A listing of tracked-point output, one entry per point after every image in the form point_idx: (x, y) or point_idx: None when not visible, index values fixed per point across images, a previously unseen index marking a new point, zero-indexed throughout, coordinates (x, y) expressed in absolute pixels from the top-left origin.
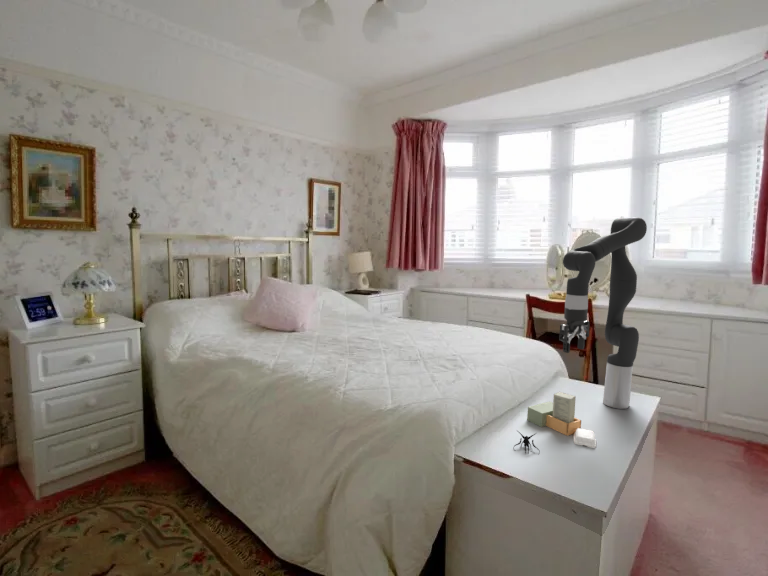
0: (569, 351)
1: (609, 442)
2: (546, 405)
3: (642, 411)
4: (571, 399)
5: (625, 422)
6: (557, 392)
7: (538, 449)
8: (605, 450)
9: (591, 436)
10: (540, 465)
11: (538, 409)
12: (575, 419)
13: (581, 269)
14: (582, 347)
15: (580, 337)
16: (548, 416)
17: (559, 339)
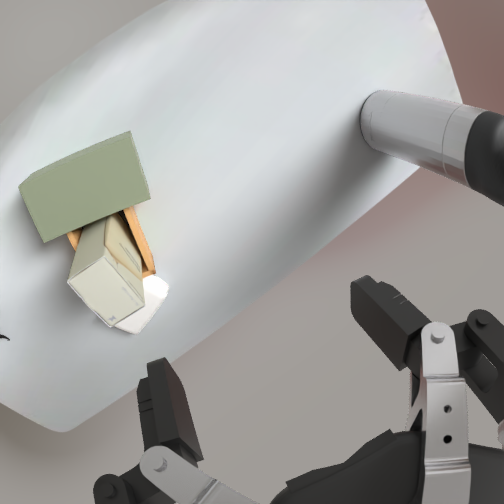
0: (183, 394)
1: (187, 308)
2: (91, 175)
3: (399, 171)
4: (115, 323)
5: (315, 218)
6: (92, 263)
7: (7, 338)
8: (152, 336)
9: (139, 324)
10: (5, 367)
11: (44, 210)
12: (144, 260)
13: None
14: (360, 321)
15: (418, 357)
16: (68, 235)
17: (97, 490)
